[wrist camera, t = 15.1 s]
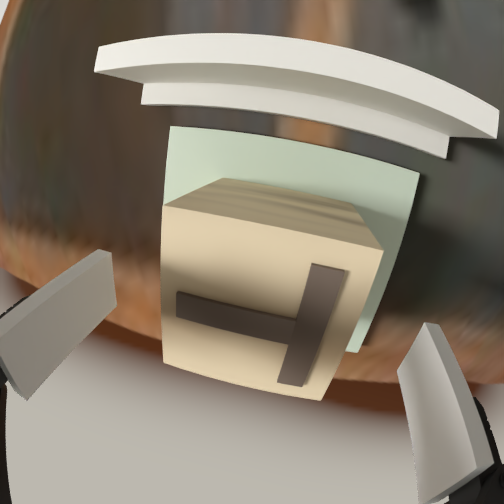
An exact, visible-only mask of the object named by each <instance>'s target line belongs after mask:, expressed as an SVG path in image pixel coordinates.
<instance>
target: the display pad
mask: <svg viewBox="0 0 504 504" xmlns="http://www.w3.org/2000/svg"><path fill="white" fill-rule="evenodd" d="M419 174H420V173H417V172H414V171H411V170H408V169H405V168H402V167H399V166H395V165H392V164H389V163H385V162H382V161H378V160H375V159H371V158H367V157H364V156H360V155H356V154H352V153H348V152H344V151H340V150H335V149H331V148H327V147H322V146H317V145H313V144H308V143H303V142H297V141H292V140H286V139H281V138H275V137H268V136H262V135H255V134H248V133H240V132H232V131H223V130H214V129H203V128H191V127H176V126H170V135H169V143H168V153H167V163H166V175H165V188H164V204H166V203H168V202H171V201H173V200H175V199H177V198H179V197H181V196H183V195H185V194H187V193H190V192H192V191H194V190H196V189H198V188H201V187H203V186H205V185H207V184H209V183H212V182H214V181H216V180H219V179H221V178H229V179H235V180H241V181H247V182H253V183H258V184H264V185H269V186H274V187H280V188H285V189H290V190H295V191H299V192H304V193H309V194H314V195H318V196H323V197H327V198H331V199H336V200H340V201H344V202H348V203H351V204H352V205H353V207H354V208H355V209H356V211H357V212H358V213H359V215H360V216H361V218H362V219H363V221H364V222H365V223H366V225H367V226H368V228H369V229H370V231H371V232H372V234H373V235H374V237H375V238H376V240H377V241H378V243H379V244H380V246H381V247H382V249H383V250H384V252H383V255H382V258H381V261H380V264H379V267H378V270H377V273H376V276H375V278H374V281H373V284H372V287H371V289H370V292H369V295H368V297H367V300H366V303H365V305H364V308H363V310H362V313H361V315H360V318H359V320H358V323H357V325H356V327H355V330H354V332H353V334H352V337H351V339H350V341H349V344H348V346H347V348H346V350H345V351H349V352H356V353H358V351H359V349H360V347H361V344H362V342H363V340H364V338H365V336H366V334H367V331H368V329H369V327H370V325H371V322H372V320H373V318H374V315H375V313H376V310H377V308H378V306H379V303H380V301H381V298H382V296H383V293H384V290H385V288H386V285H387V283H388V280H389V277H390V274H391V272H392V269H393V266H394V263H395V260H396V257H397V254H398V251H399V248H400V245H401V242H402V239H403V235H404V232H405V229H406V225H407V222H408V218H409V215H410V211H411V207H412V203H413V200H414V196H415V192H416V187H417V183H418V179H419ZM164 204H163V205H164Z"/></svg>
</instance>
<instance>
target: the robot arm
mask: <svg viewBox="0 0 504 504" xmlns="http://www.w3.org/2000/svg"><path fill="white" fill-rule="evenodd" d="M116 306H117V302H116V294H115V286H114V277H113V267H112V255H111V253H110V252H106V251H103V250H99V249H98V250H96V251H95V252H93V253H92V254H90V255H88V256H87V257H85V258H84V259H82V260H81V261H79V262H78V263H76V264H75V265H73V266H72V267H70V268H69V269H67V270H66V271H64V272H63V273H62V274H60V275H59V276H57V277H56V278H54V279H53V280H51V281H50V282H49V283H47V284H46V285H44V286H43V287H42V288H40V289H39V290H37V291H36V292H35V293H33V294H32V295H29V296H27V297H24V298H22V299H21V300H20V301H18V302H17V303H16V304H14V305H13V307H10V308H9V309H8V310H7V311H6V313H5V312H4V313H3V314H1V315H0V504H12V501H11V496H10V489H9V482H8V472H7V461H6V439H5V423H6V422H5V420H6V399H7V387H6V385H5V383H6V382H7V381H9V382H10V384H11V386H12V387H13V389H14V391H16V392H17V393H18V394H19V395H20V396H21V397H23V398H24V399H25V400H26V401H27V400H28V399H29V398H30V397H31V396H32V394H33V393H34V392H35V391H36V390H37V389H38V388H39V387H40V385H41V384H42V383H43V382H44V381H45V380H46V379H47V378H48V377H49V375H50V374H51V373H52V372H53V371H54V370H55V369H56V368H57V367H58V366H59V365H60V364H61V362H62V361H63V360H64V359H65V358H66V357H67V356H68V355H69V354H70V353H71V352H72V351H73V350H74V349H75V347H77V346H78V344H79V343H80V342H81V341H82V340H83V339H84V338H85V337H86V336H87V335H88V334H89V333H90V332H91V331H92V330H93V329H94V328H95V327H96V326H97V325H98V324H99V323H100V322H101V321H102V320H103V319H104V318H105V317H106V316H107V315H108V314H109V313H110V312H111V311H112V310H113V309H114V308H115V307H116ZM397 374H398V378H399V382H400V386H401V390H402V395H403V399H404V404H405V409H406V414H407V419H408V424H409V430H410V435H411V441H412V448H413V454H414V461H415V469H416V477H417V487H418V499H419V504H431V503H435V502H438V501H440V500H441V499H443V498H445V497H446V496H448V495H449V501H448V502H446V503H444V504H504V464H502V463H501V460H500V456H499V453H498V449H497V446H496V443H495V440H494V436H493V434H492V430H490V425H489V422H488V421H487V416H486V413H485V411H484V408H483V407H482V405H481V404H480V403H479V401H478V400H477V399H476V397H472V395H471V392H470V390H469V387H468V385H467V382H466V380H465V378H464V376H463V373H462V371H461V369H460V367H459V364H458V362H457V360H456V358H455V356H454V354H453V352H452V349H451V347H450V345H449V343H448V341H447V339H446V337H445V335H444V333H443V332H442V330H441V328H440V326H439V324H433V323H426V322H424V324H423V326H422V328H421V330H420V332H419V334H418V335H417V337H416V339H415V341H414V343H413V344H412V346H411V348H410V350H409V351H408V353H407V355H406V357H405V358H404V360H403V362H402V363H401V365H400V366H399V368H398V370H397Z"/></svg>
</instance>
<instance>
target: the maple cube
mask: <svg viewBox="0 0 504 504" xmlns="http://www.w3.org/2000/svg"><path fill="white" fill-rule="evenodd" d="M383 252H384V250H383V249H382V247H381V246H380V244H379V243H378V241H377V240H376V238H375V237H374V235H373V234H372V232H371V231H370V229H369V228H368V226H367V225H366V223H365V222H364V221H363V219H362V218H361V216H360V215H359V213H358V212H357V211H356V209H355V208H354V207H353V205H352V204H351V203H348V202H344V201H340V200H336V199H331V198H327V197H323V196H318V195H314V194H309V193H304V192H299V191H295V190H290V189H285V188H280V187H274V186H269V185H264V184H258V183H253V182H247V181H241V180H235V179H229V178H221V179H219V180H216V181H214V182H212V183H209V184H207V185H205V186H203V187H201V188H198V189H196V190H194V191H192V192H190V193H187V194H185V195H183V196H181V197H179V198H177V199H175V200H173V201H171V202H168V203H166V204H164V205H163V208H162V230H161V323H162V342H163V359H164V363H166V364H170V365H172V366H175V367H178V368H181V369H185V370H188V371H191V372H194V373H198V374H201V375H205V376H208V377H211V378H215V379H219V380H222V381H226V382H230V383H234V384H238V385H242V386H246V387H251V388H255V389H259V390H264V391H269V392H274V393H279V394H284V395H289V396H295V397H301V398H307V399H314V400H321V399H322V397H323V395H324V393H325V391H326V389H327V387H328V386H329V384H330V381H331V380H332V378H333V376H334V373H335V371H336V369H337V367H338V365H339V363H340V361H341V359H342V357H343V355H344V352H345V350H346V348H347V346H348V344H349V341H350V339H351V337H352V334H353V332H354V330H355V327H356V325H357V323H358V320H359V318H360V315H361V313H362V310H363V308H364V305H365V303H366V300H367V297H368V295H369V292H370V289H371V287H372V284H373V281H374V278H375V276H376V273H377V270H378V267H379V264H380V261H381V258H382V255H383Z"/></svg>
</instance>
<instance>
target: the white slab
mask: <svg viewBox="0 0 504 504" xmlns="http://www.w3.org/2000/svg"><path fill="white" fill-rule="evenodd" d="M94 72H97V73H101V74H106V75H111V76H115V77H120V78H124V79H128V80H132V81H136V82H140V83H143V84H144V87H143V93H142V100H141V104H142V105H149V106H192V107H209V108H222V109H233V110H242V111H251V112H259V113H266V114H273V115H280V116H286V117H292V118H297V119H303V120H308V121H313V122H318V123H323V124H328V125H332V126H336V127H341V128H345V129H349V130H353V131H357V132H361V133H364V134H368V135H372V136H375V137H379V138H382V139H386V140H389V141H392V142H395V143H398V144H402V145H405V146H408V147H411V148H413V149H416V150H419V151H422V152H425V153H428V154H430V155H433V156H436V157H438V158H444V159H446V155H447V149H448V144H449V137H475V138H491V139H497V130H498V120H499V110H498V109H496V108H494V107H493V106H491V105H489V104H488V103H486V102H484V101H482V100H481V99H479V98H477V97H475V96H473V95H471V94H469V93H468V92H466V91H464V90H462V89H460V88H458V87H456V86H454V85H451V84H449V83H447V82H445V81H443V80H441V79H438V78H436V77H434V76H431V75H429V74H426V73H424V72H422V71H419V70H416V69H414V68H411V67H408V66H406V65H403V64H400V63H397V62H394V61H391V60H388V59H385V58H382V57H378V56H375V55H371V54H368V53H364V52H361V51H357V50H353V49H349V48H344V47H340V46H335V45H330V44H325V43H320V42H315V41H309V40H302V39H295V38H287V37H279V36H269V35H256V34H234V33H205V34H183V35H170V36H160V37H152V38H144V39H137V40H131V41H125V42H120V43H115V44H110V45H105V46H101V47H99V49H98V54H97V58H96V63H95V68H94Z"/></svg>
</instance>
